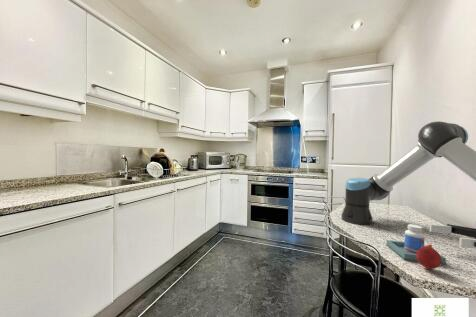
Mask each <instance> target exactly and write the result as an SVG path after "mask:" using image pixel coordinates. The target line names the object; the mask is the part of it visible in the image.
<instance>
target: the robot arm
mask: <svg viewBox="0 0 476 317" xmlns="http://www.w3.org/2000/svg"><path fill="white" fill-rule="evenodd" d="M417 138H418V139H417V144H416V146H414V147H413V148H411V149H410V150H409V151H408V152H407V153H405V154H404V155H403V156H401V157H400V158H399V159H398V160H396V161H395V162H394V163H392V164H391V165H390V166H389V167H387V168H386V169H385V170H384V171H382V172H381V173H380V174H378V173H375V174H373V175H372V176H371V177H370V178H366V177H356V178H355V177H353V178H348V179H346V183H345V201H344V202H345V203H344V204H345V205H344V207H343V210H342V212H341V215H340V216H341V220H343V221H345V222H347V223H351V224H354V225H355V224H356V225H365V226H366V225H367V226H370V225H372V224H373V223H374V222H373V220H374V218H373V216H372V213H371V209H370V201H381V200H384V199H386V198H387V197H388V196H389V195H390V193H391V192H392V191H393V190H394V186H395V185H397V184H399V183H400V182H401V181H403V180H405V178H407V177H408V176H410V175H411V174H413V173H414V172H415V171H417V170H419V169H420V168H422V167H423V166H424V165H426V164H427V163H429V162H431V161H432V160H434V158H444V159H445V160H447V161H448V162H450V163H451V165H454V166H455V167H456V168H457V169H459V170H460V171H462V172H463V173H464V174H465V175H467V176H468V177H469V178H471V180H473V181H475V182H476V150H475V149H473V148H472V147H470V146H468V145H467V143H468V139H469V133H468V131H467V130H466V129H465V128H464V127H463V126H460V125H459V124H458V123H457V124H456V123H453V122H451V123H450V122H445V121H441V120H440V121H432V122H429V123H427V124H425V125H423V126H422V127H421V128H420V130H419V132H418V135H417ZM429 232H430V233H436V234H437V233H438V234H440V233H441V234H448V235H451V234H455V235H461V236H465V237H459V242H458V243H459V244H458V245H459V247H461V248H470V249H476V228H474V227H467V226H461V225H455V224H450V223H447V224H446V225H442V224H441V225H440V224H429ZM468 237H469V238H468Z"/></svg>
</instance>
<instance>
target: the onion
mask: <svg viewBox="0 0 476 317" xmlns="http://www.w3.org/2000/svg"><path fill="white" fill-rule="evenodd" d="M440 255H441V254H440V253H439V252H438V251H437V250H436V249H434V248H433V245H432V244H431V243H428V244H426V245H425V247H422V248H420V249H419V250H418V251H417V253H416V257H417V260H418V261H419V262H418V261H417V262H418V263H419V264H420V265H421V266H422V267H424V268H425V269H427V270H428V271H431V270H433V269H436V268H439V267H440V266H441V265H442V264H441V262H442V259H441V256H442V255H441V256H440Z"/></svg>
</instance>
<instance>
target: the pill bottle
mask: <svg viewBox="0 0 476 317" xmlns="http://www.w3.org/2000/svg"><path fill="white" fill-rule="evenodd" d="M422 232H423V226H420V225H417V224H411V223H410V224H407V229H406V230H405V232H404V242H405V246H404V250H405V251H406V252H407V253H411V254H416V253H417V251H418V250H419V249H420V248H422V247H424V245H425V235H424V233H422Z"/></svg>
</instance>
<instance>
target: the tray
mask: <svg viewBox="0 0 476 317" xmlns="http://www.w3.org/2000/svg"><path fill="white" fill-rule="evenodd" d="M386 246H387V247H388V248H389V249H390V250H391V251H393V252H394V253H395V254H396V255H398V257H400V258H401V259H402V260H404V261H411V262H417V263H419V261H418V260H417V257H416V254H411V253H407V252H406V251H405V250H404V246H405V241H400V240H399V241H398V240H389V239H386ZM425 246H426V245H425V244H424V247H425ZM439 255H440V256H441V259H442V262H441V265H444V266H445V265H446V263H447V262H446V261H447V258H446V257H445V256H443V255H441V254H439Z"/></svg>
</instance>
